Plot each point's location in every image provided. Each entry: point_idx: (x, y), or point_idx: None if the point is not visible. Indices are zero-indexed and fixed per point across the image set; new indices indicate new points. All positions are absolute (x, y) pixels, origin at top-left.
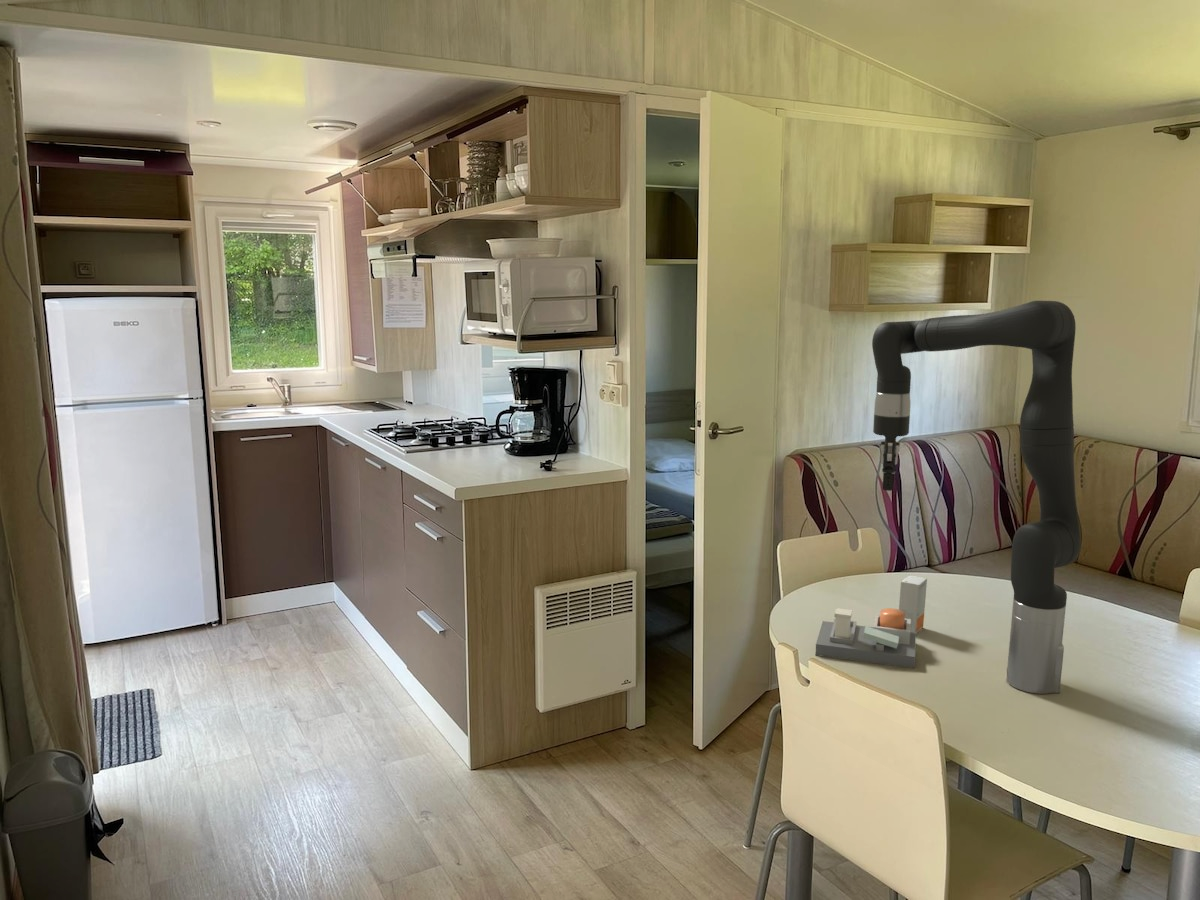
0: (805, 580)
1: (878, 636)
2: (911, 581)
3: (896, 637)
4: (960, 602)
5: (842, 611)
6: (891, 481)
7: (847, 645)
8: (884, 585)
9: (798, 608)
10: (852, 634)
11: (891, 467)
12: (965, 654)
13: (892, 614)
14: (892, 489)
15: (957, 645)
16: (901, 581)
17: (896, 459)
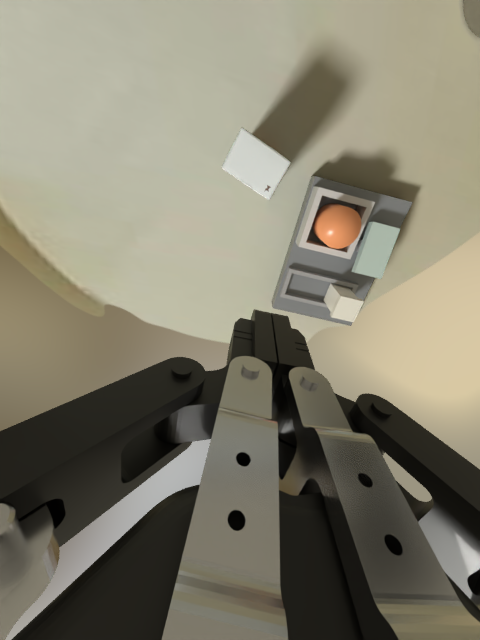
0: (71, 297)
1: (386, 258)
2: (268, 175)
3: (378, 226)
4: (85, 3)
5: (345, 310)
6: (309, 353)
7: (359, 290)
8: (41, 168)
9: (192, 319)
10: (339, 282)
11: (382, 448)
12: (361, 90)
13: (350, 230)
14: (286, 317)
15: (322, 94)
16: (267, 198)
17: (391, 487)
